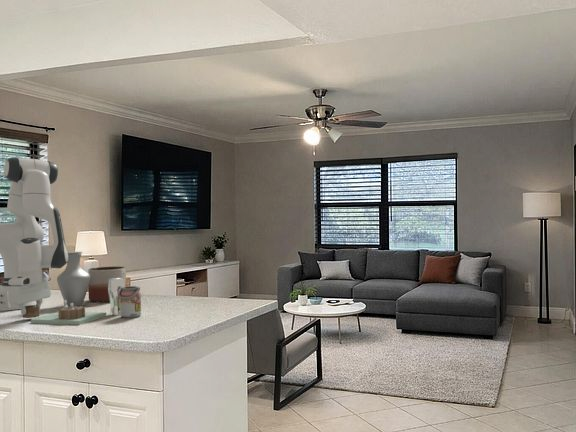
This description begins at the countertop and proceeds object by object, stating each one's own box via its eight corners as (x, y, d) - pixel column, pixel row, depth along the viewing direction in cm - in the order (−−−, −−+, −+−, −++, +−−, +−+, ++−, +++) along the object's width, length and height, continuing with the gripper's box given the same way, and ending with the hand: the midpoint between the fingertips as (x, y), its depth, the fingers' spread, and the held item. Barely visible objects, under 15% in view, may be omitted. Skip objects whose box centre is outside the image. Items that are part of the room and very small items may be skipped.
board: (30, 323, 222) (30, 305, 222) (60, 314, 239) (60, 298, 239) (79, 324, 216) (79, 306, 216) (106, 316, 234) (106, 299, 234)
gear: (19, 317, 228) (19, 307, 228) (29, 314, 234) (29, 304, 234) (31, 318, 226) (31, 307, 226) (42, 315, 232) (41, 305, 232)
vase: (76, 309, 254) (74, 253, 254) (50, 307, 259) (49, 253, 259) (97, 303, 267) (96, 250, 267) (72, 302, 272) (71, 250, 272)
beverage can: (134, 319, 226) (134, 289, 225) (115, 319, 227) (114, 289, 227) (144, 314, 235) (144, 286, 235) (125, 314, 236) (125, 286, 236)
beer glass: (110, 316, 233) (109, 279, 233) (107, 313, 239) (106, 278, 239) (127, 314, 237) (126, 278, 236) (124, 312, 243) (123, 277, 243)
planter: (111, 296, 291) (110, 265, 291) (134, 298, 281) (133, 267, 281) (81, 301, 277) (80, 269, 277) (103, 304, 266) (102, 270, 266)
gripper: (41, 275, 241) (42, 307, 241) (5, 281, 221) (5, 316, 221) (54, 275, 239) (54, 308, 239) (18, 281, 219) (19, 317, 219)
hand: (30, 312), depth 230 cm, fingers closed on gear, 6 cm apart
